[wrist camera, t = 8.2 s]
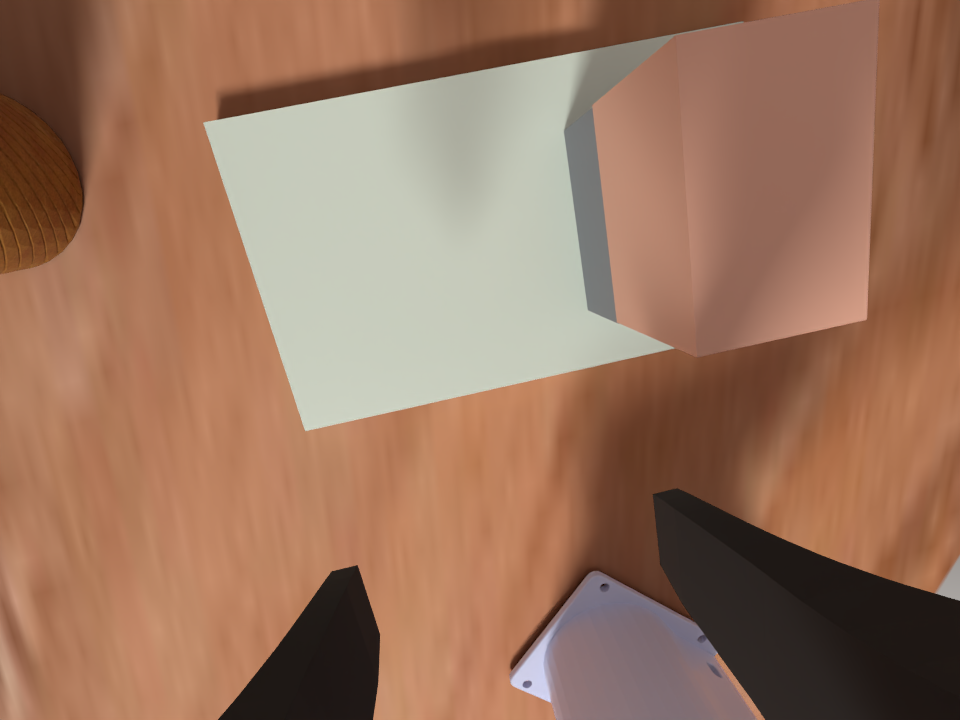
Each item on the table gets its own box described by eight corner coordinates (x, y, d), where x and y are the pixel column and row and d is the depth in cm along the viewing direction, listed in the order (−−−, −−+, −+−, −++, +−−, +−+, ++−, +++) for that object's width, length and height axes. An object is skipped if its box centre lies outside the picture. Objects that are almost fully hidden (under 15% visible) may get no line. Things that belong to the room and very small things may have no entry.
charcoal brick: (676, 108, 17) (729, 80, 14) (689, 288, 19) (738, 297, 16) (563, 130, 17) (592, 106, 14) (587, 310, 19) (617, 323, 16)
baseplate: (726, 33, 18) (743, 21, 17) (738, 326, 21) (753, 330, 20) (216, 129, 17) (203, 122, 16) (311, 421, 20) (305, 431, 19)
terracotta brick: (729, 78, 14) (879, -2, 10) (737, 296, 16) (866, 319, 11) (592, 104, 14) (675, 35, 9) (616, 322, 16) (696, 357, 11)
